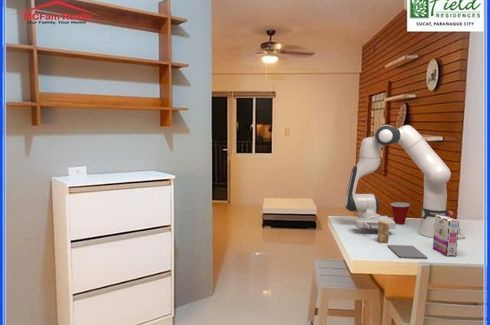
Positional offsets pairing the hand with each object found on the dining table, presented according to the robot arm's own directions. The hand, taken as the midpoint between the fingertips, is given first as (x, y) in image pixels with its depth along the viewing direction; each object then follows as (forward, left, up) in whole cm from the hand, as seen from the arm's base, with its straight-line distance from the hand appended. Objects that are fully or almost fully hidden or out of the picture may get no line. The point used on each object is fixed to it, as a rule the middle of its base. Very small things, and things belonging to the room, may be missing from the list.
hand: (379, 227), depth 195 cm
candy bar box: (-24, +20, -6) cm, 32 cm away
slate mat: (-6, +22, -6) cm, 23 cm away
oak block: (0, +7, -6) cm, 9 cm away
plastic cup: (-22, -32, -6) cm, 39 cm away
